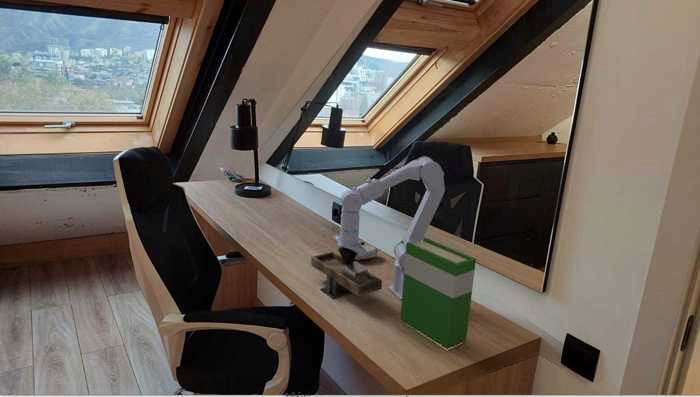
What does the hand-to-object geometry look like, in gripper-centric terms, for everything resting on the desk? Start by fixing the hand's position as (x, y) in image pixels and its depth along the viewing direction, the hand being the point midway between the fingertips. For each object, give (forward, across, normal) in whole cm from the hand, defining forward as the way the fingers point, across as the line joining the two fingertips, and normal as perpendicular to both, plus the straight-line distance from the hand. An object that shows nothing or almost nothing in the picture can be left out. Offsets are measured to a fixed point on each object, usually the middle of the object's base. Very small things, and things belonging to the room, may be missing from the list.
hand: (347, 269), depth 147 cm
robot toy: (+8, -22, +22) cm, 32 cm away
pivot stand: (+8, -2, 0) cm, 8 cm away
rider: (+2, +3, 0) cm, 4 cm away
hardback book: (+8, +32, +6) cm, 33 cm away
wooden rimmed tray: (+3, -2, 0) cm, 3 cm away
